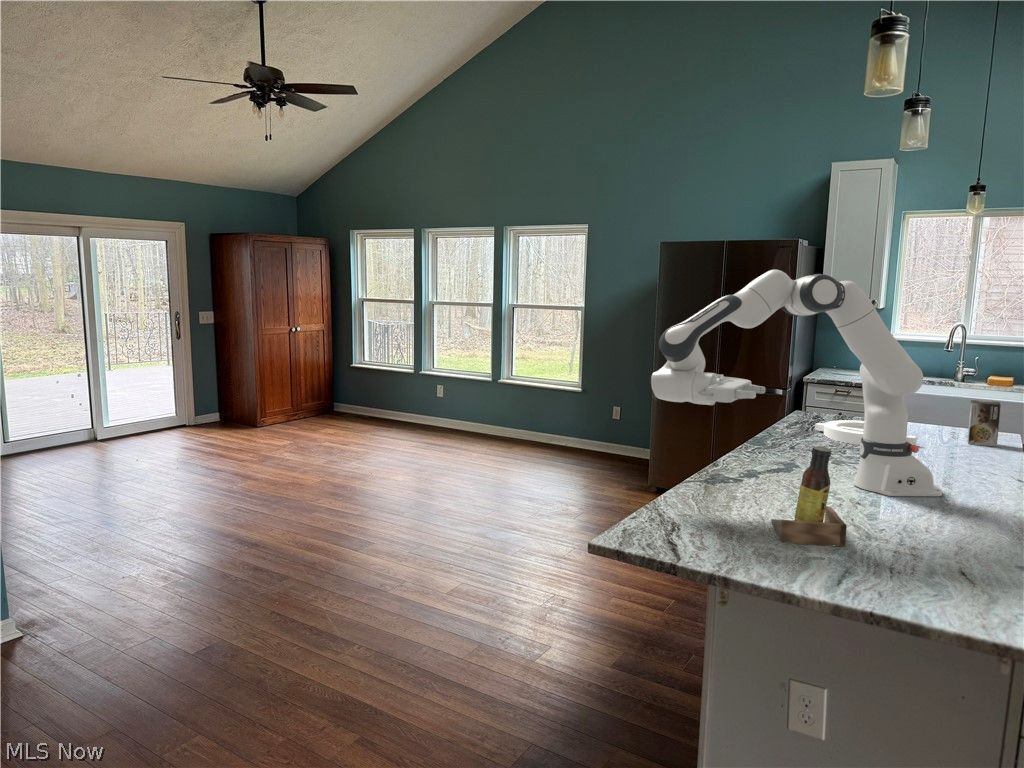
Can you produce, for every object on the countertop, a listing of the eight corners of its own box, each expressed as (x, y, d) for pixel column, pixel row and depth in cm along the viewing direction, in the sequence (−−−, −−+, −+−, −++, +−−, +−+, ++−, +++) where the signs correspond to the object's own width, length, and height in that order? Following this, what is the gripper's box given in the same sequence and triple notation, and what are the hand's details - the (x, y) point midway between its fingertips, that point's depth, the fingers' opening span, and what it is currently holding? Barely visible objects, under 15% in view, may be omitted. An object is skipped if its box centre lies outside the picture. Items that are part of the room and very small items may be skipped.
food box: (995, 443, 252) (1000, 401, 250) (997, 447, 247) (1001, 404, 245) (966, 440, 257) (970, 399, 255) (967, 444, 252) (971, 401, 250)
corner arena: (829, 526, 165) (830, 506, 164) (845, 546, 152) (846, 525, 151) (771, 522, 167) (772, 502, 167) (781, 542, 154) (782, 521, 153)
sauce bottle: (822, 536, 156) (838, 455, 152) (793, 529, 158) (809, 450, 154) (820, 525, 162) (836, 447, 158) (792, 519, 164) (807, 442, 160)
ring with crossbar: (920, 448, 247) (921, 435, 246) (844, 447, 247) (845, 435, 247) (879, 431, 275) (880, 420, 274) (811, 431, 275) (812, 420, 274)
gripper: (695, 381, 175) (749, 385, 167) (719, 373, 192) (770, 376, 184) (694, 405, 176) (748, 410, 168) (718, 395, 192) (769, 399, 185)
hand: (760, 392), depth 176 cm, fingers open, 8 cm apart
